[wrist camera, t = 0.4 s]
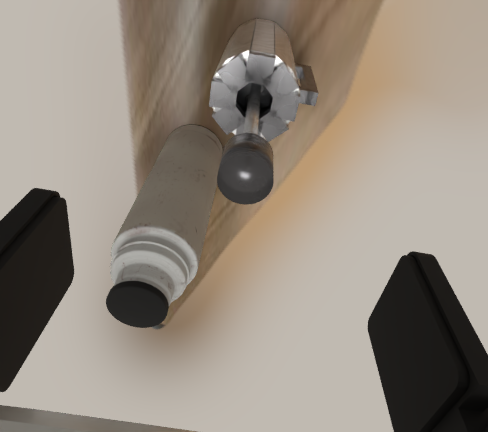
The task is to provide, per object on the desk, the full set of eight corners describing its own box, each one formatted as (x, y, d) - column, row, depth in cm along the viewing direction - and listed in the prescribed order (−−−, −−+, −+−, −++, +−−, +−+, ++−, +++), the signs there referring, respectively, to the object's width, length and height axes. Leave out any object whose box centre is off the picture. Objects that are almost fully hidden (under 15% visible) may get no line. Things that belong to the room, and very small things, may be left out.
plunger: (235, 53, 35) (209, 136, 20) (285, 63, 35) (294, 151, 21) (228, 103, 38) (201, 206, 23) (274, 111, 38) (276, 219, 23)
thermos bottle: (233, 165, 54) (204, 329, 32) (183, 184, 57) (124, 350, 34) (206, 115, 50) (151, 262, 27) (154, 137, 52) (64, 290, 30)
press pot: (232, 13, 43) (214, 46, 30) (315, 29, 43) (333, 68, 31) (223, 80, 47) (205, 135, 34) (299, 94, 48) (309, 153, 35)
